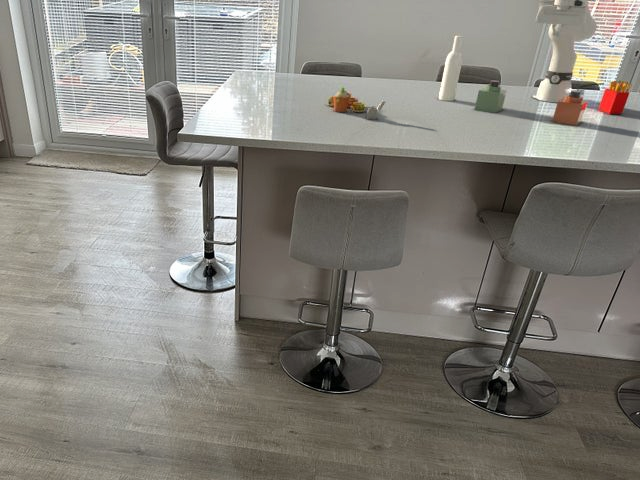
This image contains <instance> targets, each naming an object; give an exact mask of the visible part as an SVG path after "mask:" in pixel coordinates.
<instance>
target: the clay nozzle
mask: <svg viewBox="0 0 640 480" xmlns="http://www.w3.org/2000/svg"><path fill="white" fill-rule="evenodd" d="M570 92H571V93H570V96H569V97H576V98H579V97H580V96H581V94H582V91H580V90H578V91H577V90H571V91H570Z"/></svg>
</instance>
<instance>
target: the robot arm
mask: <svg viewBox="0 0 640 480" xmlns="http://www.w3.org/2000/svg"><path fill="white" fill-rule="evenodd" d="M535 22H536V23H537V24H548V25H549V28H548V38H549V39H550V40H551V43H552V55H551V59H550V63H549V67H548V69H547V70H546V73H545V78H544V79H543V80H542V81H540V83H539V87H538V89H537V93H536V94H533V95H532V98H534V99H537V100H539V101H543V102H548V103H558V101H559V100H561V99H563V98H565V96H566V95H570V93H571V91H572V87H573V84H572V81H571V80H572V77H573V74H574V72H573V71H574V68H575V64H576V62H577V59H578V58H577V57H578V55H577V53H576V51H575V42H582V41H585V40H588V39H591V38H592V37H593V36H594V35H595V33H596V31H597V29H598V26H597V22H596V20H595V19H594V18H593V16H592V14H591V10H590V7H589V1H588V0H543V1H540V3H539V5H538V12H537V14H536V17H535ZM536 23H535V24H536ZM600 85H605V83H604V82H602V83H589V84H583V85H581V86H578V88H577V89H576V91H580V89H581V88H584V87H585V88H586V87H589V86H600Z"/></svg>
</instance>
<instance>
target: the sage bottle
mask: <svg viewBox="0 0 640 480" xmlns="http://www.w3.org/2000/svg"><path fill="white" fill-rule="evenodd" d="M489 85H490V84H486V85H485V87H484V88H481V89H478V93H477V97H476V101H475V106H474V108H473V109H474V111H479V112H486V113H491V114H496V113H499V112H500V111H502V110H503V107H504V103H505V99H506V96H507V89H502V88H503V86H502V85H499V86H498V87H492V86H489Z"/></svg>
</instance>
